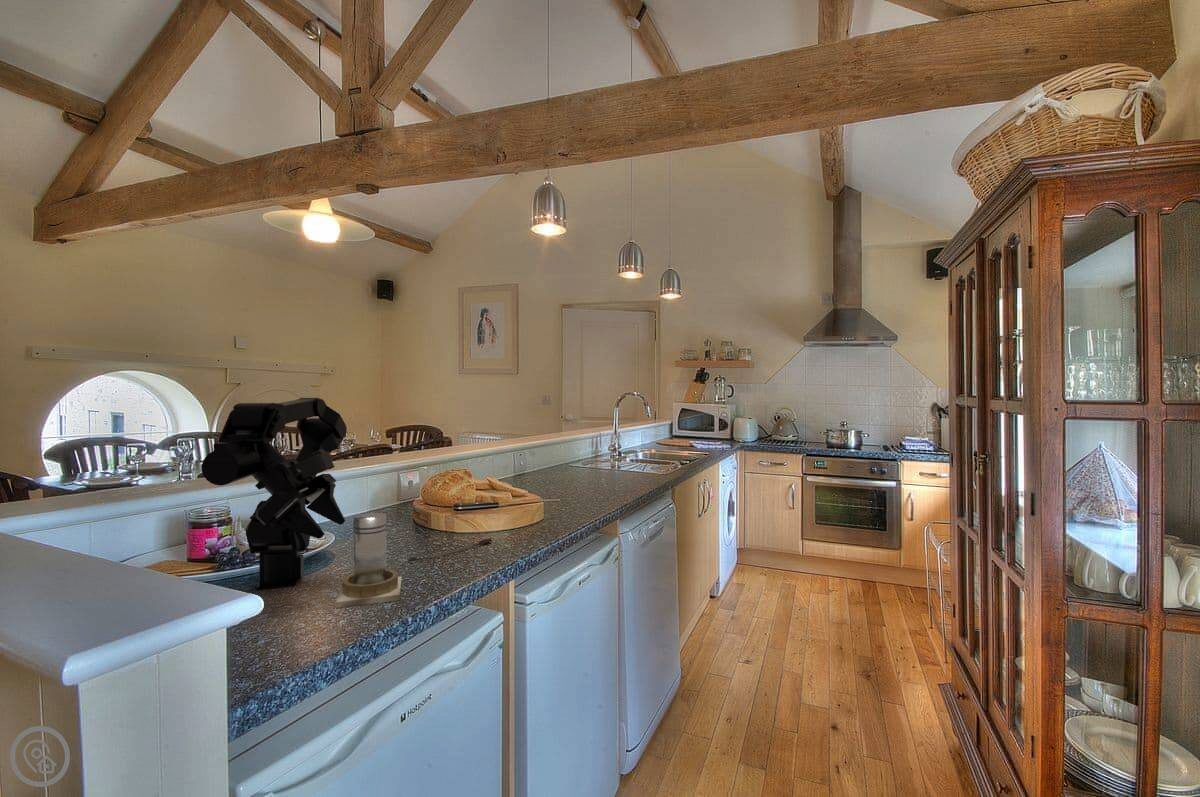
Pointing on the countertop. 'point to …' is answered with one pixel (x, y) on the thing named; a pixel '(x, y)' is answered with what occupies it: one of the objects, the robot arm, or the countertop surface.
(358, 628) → the countertop surface
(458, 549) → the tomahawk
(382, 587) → the ring collar
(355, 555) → the salt shaker
